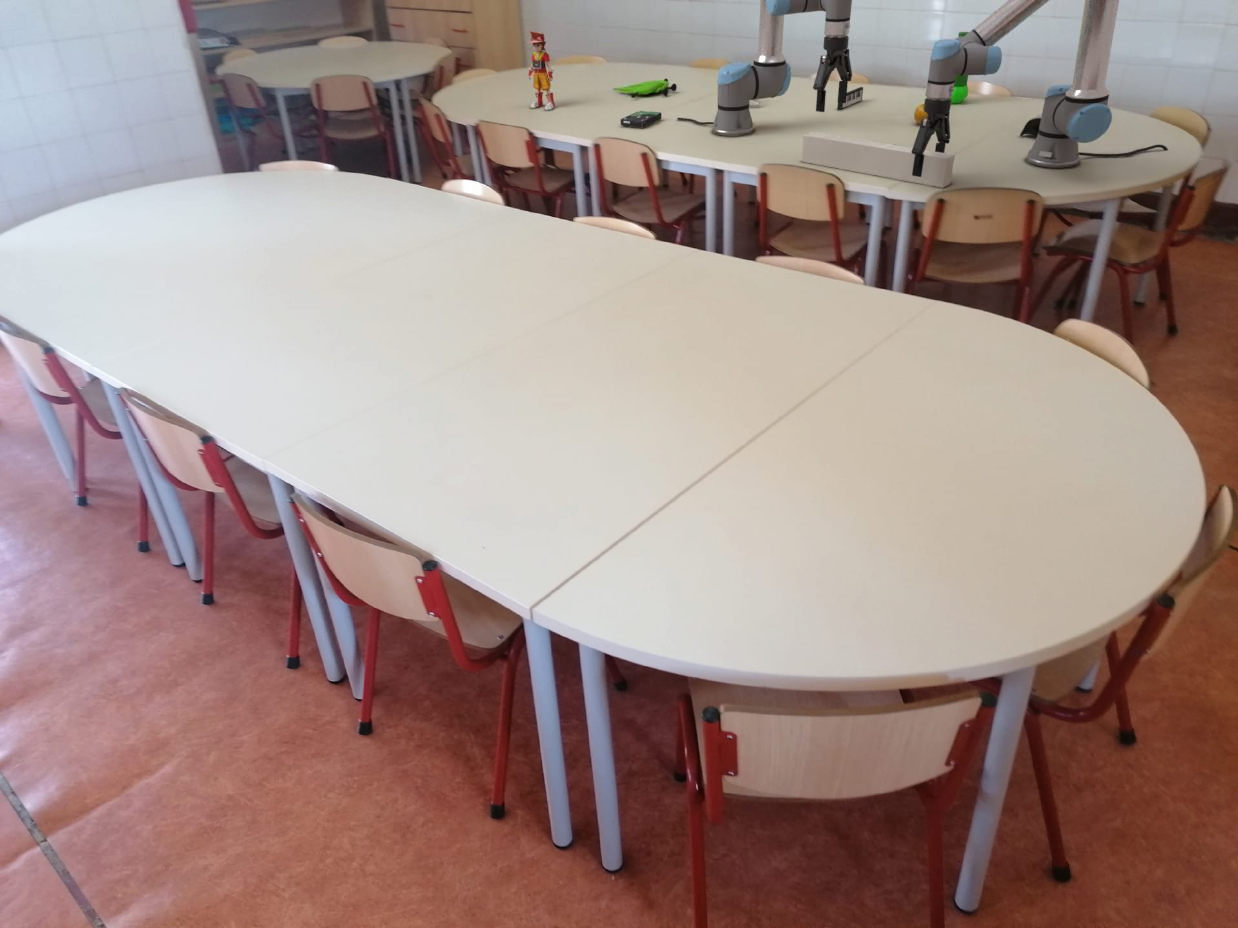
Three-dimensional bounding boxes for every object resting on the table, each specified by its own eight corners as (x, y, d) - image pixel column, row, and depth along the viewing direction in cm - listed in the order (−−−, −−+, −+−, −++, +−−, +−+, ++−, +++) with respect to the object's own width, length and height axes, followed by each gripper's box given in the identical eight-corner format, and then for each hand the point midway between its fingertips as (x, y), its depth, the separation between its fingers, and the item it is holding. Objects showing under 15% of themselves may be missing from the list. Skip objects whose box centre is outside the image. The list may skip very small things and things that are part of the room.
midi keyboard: (840, 109, 354) (841, 96, 351) (837, 109, 355) (838, 96, 352) (862, 100, 364) (863, 87, 361) (859, 100, 365) (860, 87, 362)
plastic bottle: (973, 101, 354) (984, 32, 339) (955, 106, 349) (966, 36, 335) (952, 97, 361) (962, 29, 346) (934, 102, 356) (944, 33, 342)
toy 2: (686, 85, 398) (631, 84, 414) (685, 72, 395) (629, 72, 411) (651, 104, 381) (596, 103, 397) (650, 92, 378) (594, 91, 394)
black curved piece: (1048, 107, 329) (1073, 90, 321) (1062, 128, 329) (1087, 111, 321) (1015, 130, 312) (1041, 112, 303) (1030, 152, 312) (1055, 134, 304)
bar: (801, 161, 301) (803, 135, 296) (810, 158, 304) (812, 131, 299) (942, 188, 272) (947, 159, 267) (950, 183, 275) (954, 154, 270)
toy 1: (525, 109, 381) (517, 32, 364) (534, 104, 388) (527, 28, 371) (550, 110, 377) (543, 32, 360) (559, 105, 384) (553, 28, 367)
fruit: (909, 116, 327) (923, 96, 324) (910, 119, 335) (924, 100, 332) (928, 129, 326) (942, 109, 323) (929, 132, 334) (943, 112, 331)
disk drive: (643, 129, 346) (662, 119, 356) (642, 121, 344) (661, 112, 354) (620, 126, 351) (639, 117, 361) (620, 119, 349) (639, 109, 359)
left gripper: (826, 43, 269) (821, 117, 281) (867, 30, 284) (860, 100, 296) (804, 41, 273) (800, 114, 285) (846, 28, 288) (840, 97, 300)
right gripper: (930, 108, 254) (919, 183, 266) (969, 91, 269) (957, 162, 281) (906, 105, 258) (896, 178, 270) (945, 88, 273) (934, 158, 285)
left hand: (831, 107), depth 291 cm, fingers open, 13 cm apart
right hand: (927, 170), depth 276 cm, fingers open, 13 cm apart
